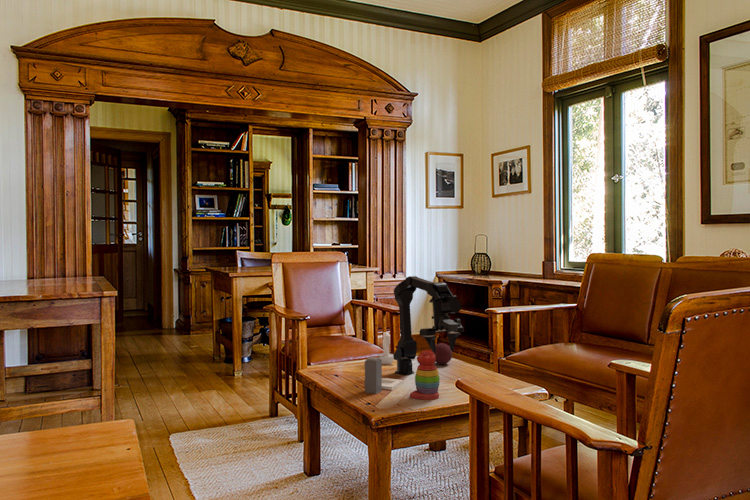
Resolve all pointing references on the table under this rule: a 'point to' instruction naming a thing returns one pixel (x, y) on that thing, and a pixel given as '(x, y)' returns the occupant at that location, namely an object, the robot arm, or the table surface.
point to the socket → (390, 383)
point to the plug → (373, 375)
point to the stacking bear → (426, 377)
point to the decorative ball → (442, 353)
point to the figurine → (386, 350)
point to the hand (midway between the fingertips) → (443, 351)
